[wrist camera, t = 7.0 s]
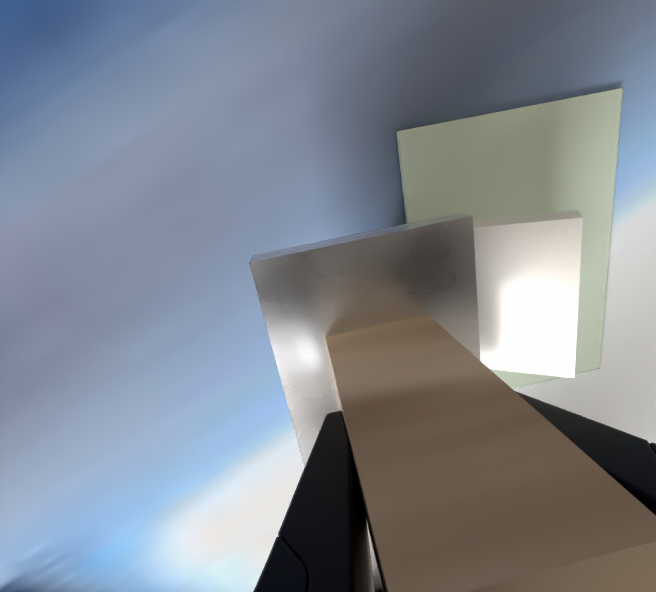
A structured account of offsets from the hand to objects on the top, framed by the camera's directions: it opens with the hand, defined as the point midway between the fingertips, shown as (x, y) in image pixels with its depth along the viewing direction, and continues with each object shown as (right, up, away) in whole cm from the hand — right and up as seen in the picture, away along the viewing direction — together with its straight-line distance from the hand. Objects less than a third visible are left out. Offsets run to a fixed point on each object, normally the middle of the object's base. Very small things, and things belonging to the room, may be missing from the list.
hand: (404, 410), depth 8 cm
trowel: (0, +1, +3) cm, 3 cm away
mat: (+7, +4, +8) cm, 12 cm away
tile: (+1, +3, +8) cm, 8 cm away
